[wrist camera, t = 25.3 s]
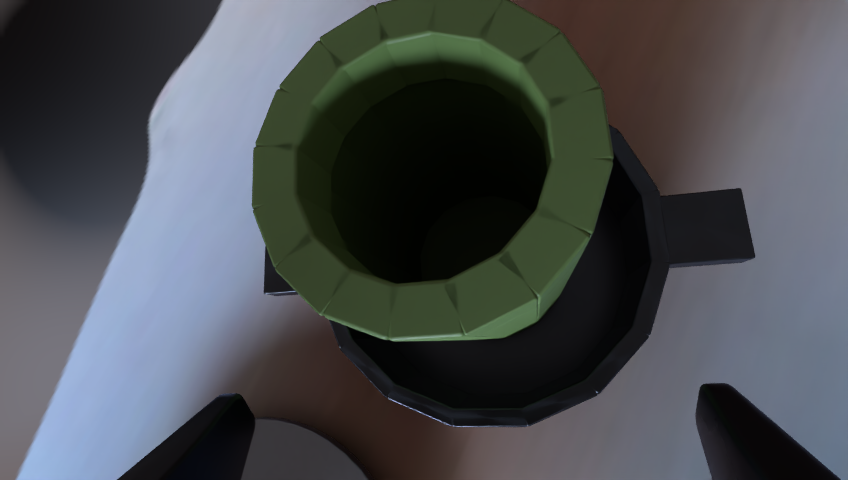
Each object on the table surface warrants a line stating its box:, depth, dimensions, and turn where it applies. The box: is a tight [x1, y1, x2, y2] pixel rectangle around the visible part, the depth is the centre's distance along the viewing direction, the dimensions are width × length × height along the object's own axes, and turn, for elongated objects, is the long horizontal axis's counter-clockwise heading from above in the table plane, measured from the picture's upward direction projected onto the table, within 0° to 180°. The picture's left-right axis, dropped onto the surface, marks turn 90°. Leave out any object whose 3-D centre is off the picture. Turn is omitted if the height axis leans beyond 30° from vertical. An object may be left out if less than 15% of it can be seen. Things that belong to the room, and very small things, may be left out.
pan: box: [264, 125, 755, 427], centre depth 18 cm, size 12×18×4 cm
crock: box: [252, 0, 614, 341], centre depth 14 cm, size 6×6×13 cm
